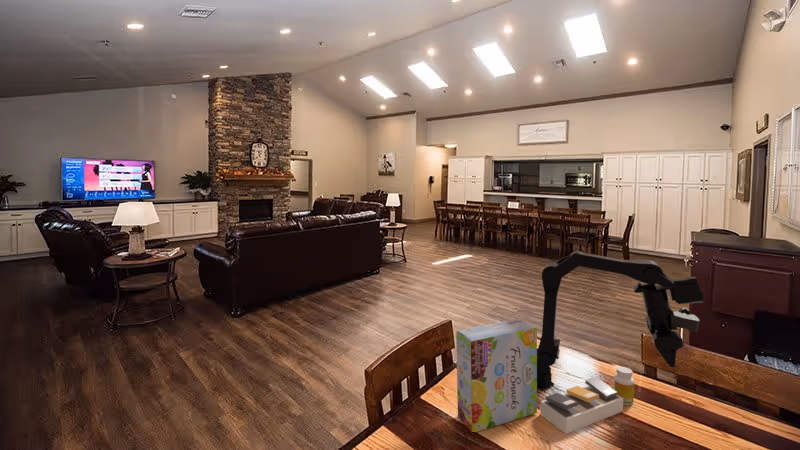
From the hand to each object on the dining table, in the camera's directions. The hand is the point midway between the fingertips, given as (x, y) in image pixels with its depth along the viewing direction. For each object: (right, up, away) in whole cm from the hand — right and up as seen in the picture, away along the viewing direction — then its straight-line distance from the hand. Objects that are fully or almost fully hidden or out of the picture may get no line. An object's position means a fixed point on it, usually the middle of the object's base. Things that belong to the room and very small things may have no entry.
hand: (669, 359), depth 104 cm
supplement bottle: (-9, -15, +7) cm, 19 cm away
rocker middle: (-24, -10, +1) cm, 26 cm away
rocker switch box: (-24, -16, +1) cm, 29 cm away
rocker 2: (-17, -9, +4) cm, 20 cm away
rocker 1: (-31, -10, -3) cm, 33 cm away
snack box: (-48, -16, +1) cm, 51 cm away
